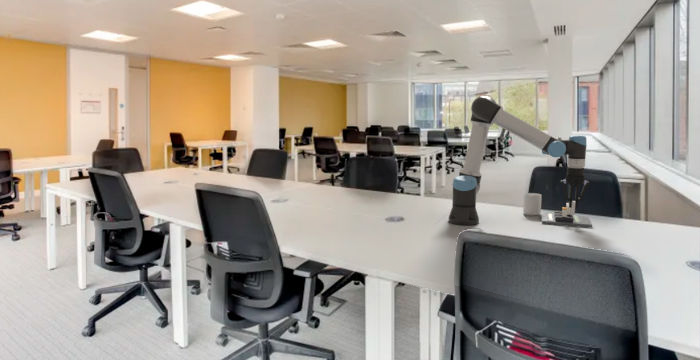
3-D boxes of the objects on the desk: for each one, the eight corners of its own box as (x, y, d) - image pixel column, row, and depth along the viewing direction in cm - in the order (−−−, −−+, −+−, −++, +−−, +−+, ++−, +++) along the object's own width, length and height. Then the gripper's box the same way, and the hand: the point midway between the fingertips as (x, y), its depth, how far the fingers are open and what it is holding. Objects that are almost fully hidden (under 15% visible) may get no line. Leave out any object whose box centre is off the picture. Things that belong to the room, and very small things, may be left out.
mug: (540, 216, 225) (541, 196, 224) (522, 214, 229) (523, 195, 228) (541, 212, 236) (542, 192, 234) (524, 210, 240) (525, 191, 238)
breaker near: (562, 216, 208) (562, 208, 207) (561, 215, 210) (562, 207, 210) (566, 217, 207) (567, 208, 206) (566, 215, 209) (566, 207, 209)
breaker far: (566, 212, 218) (566, 204, 217) (565, 211, 220) (566, 203, 220) (570, 212, 217) (571, 204, 216) (570, 211, 219) (570, 203, 219)
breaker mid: (566, 214, 212) (567, 206, 212) (566, 213, 215) (567, 205, 214) (571, 214, 211) (572, 206, 211) (571, 213, 214) (571, 205, 213)
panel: (542, 223, 210) (542, 216, 209) (541, 216, 226) (542, 209, 225) (592, 227, 201) (592, 220, 200) (588, 219, 217) (588, 213, 216)
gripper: (561, 167, 203) (558, 214, 206) (592, 168, 197) (588, 217, 201) (560, 165, 210) (557, 211, 213) (590, 166, 204) (586, 213, 208)
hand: (572, 214), depth 207 cm, fingers closed
